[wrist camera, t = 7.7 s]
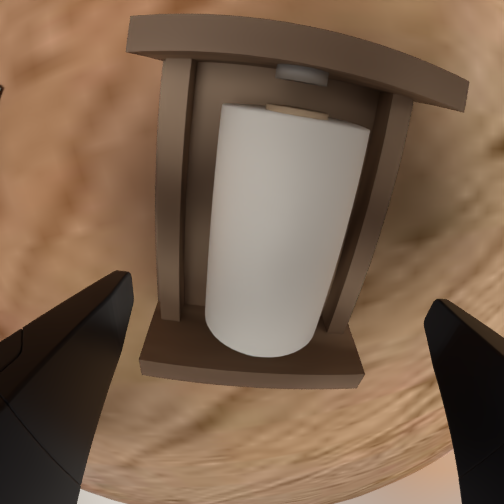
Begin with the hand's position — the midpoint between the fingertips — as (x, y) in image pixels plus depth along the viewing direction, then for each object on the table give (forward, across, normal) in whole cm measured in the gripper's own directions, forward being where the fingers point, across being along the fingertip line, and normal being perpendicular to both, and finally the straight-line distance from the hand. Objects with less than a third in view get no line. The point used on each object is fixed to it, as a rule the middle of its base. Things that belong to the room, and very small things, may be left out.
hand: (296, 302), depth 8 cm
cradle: (+8, 0, 0) cm, 8 cm away
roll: (+5, 0, 0) cm, 5 cm away
